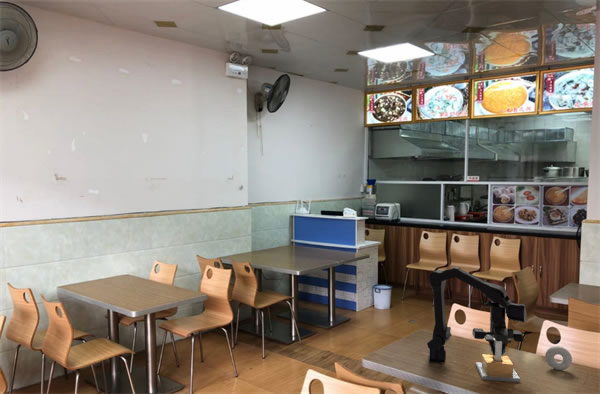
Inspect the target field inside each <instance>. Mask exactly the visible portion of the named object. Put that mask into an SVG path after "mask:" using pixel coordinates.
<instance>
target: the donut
mask: <svg viewBox="0 0 600 394" xmlns="http://www.w3.org/2000/svg"><path fill="white" fill-rule="evenodd" d="M544 355H545V356H544V359H545V362H546V363H547V365H548V366H549V367H550V368H552V369H553V370H557V371H565V370H567V369H568V368H570V367H571V365H572V363H573V357H572V354H571V352H570V351H569V350H568V349H566V348H565V347H563V346H559V345H554V346H550V347H549V348H548V349H546V351H545V353H544ZM556 355H559V356H560V357H562V360H560V361H557V360H556V359H555V356H556Z"/></svg>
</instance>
